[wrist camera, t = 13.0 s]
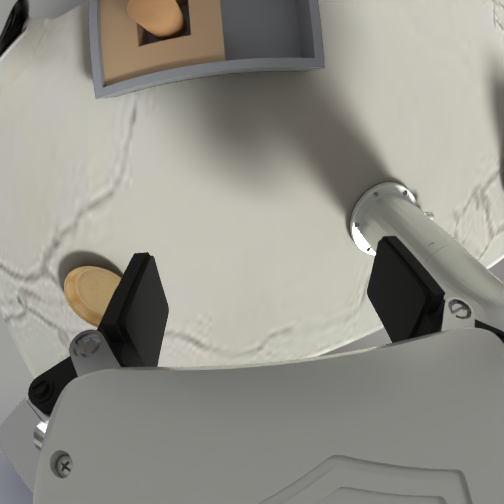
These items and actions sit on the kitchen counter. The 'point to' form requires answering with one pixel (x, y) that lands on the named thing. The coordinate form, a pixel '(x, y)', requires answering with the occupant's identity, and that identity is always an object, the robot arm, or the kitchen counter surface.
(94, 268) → the plant saucer
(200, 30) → the box
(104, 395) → the robot arm
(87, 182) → the kitchen counter surface
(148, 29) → the peg
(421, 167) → the kitchen counter surface
